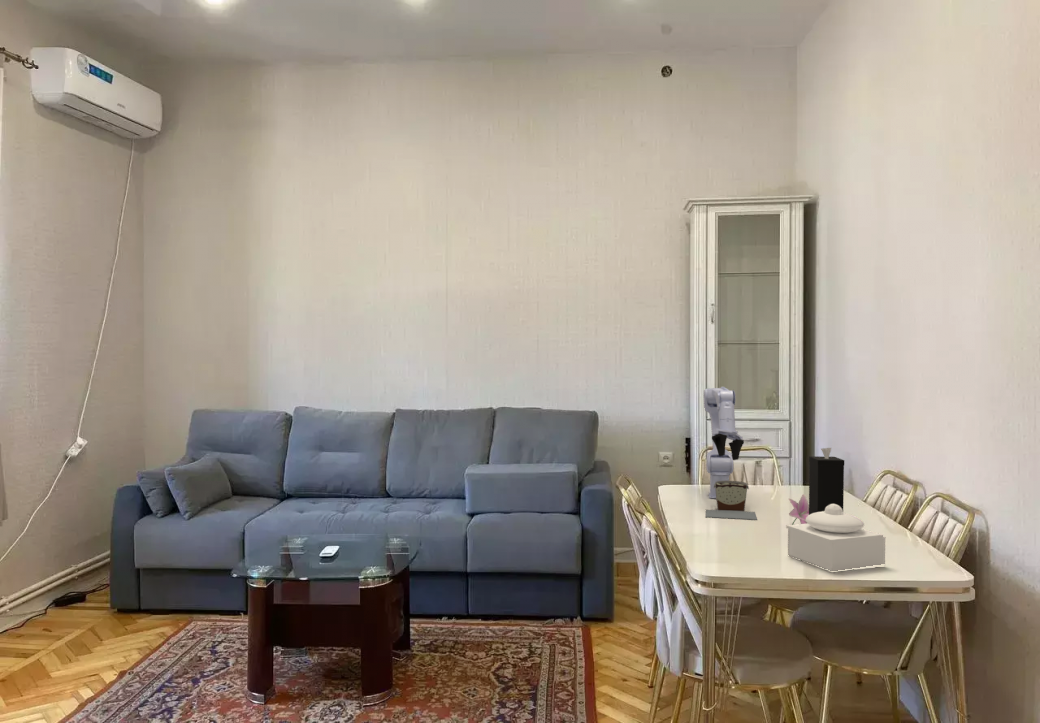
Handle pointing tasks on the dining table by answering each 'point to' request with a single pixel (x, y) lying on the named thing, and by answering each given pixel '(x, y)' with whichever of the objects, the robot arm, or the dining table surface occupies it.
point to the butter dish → (835, 541)
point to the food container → (731, 495)
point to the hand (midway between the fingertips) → (728, 457)
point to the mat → (731, 514)
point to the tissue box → (825, 481)
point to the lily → (800, 509)
